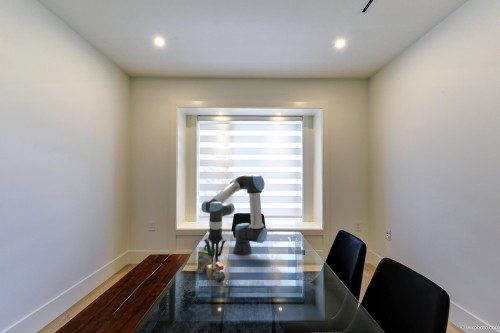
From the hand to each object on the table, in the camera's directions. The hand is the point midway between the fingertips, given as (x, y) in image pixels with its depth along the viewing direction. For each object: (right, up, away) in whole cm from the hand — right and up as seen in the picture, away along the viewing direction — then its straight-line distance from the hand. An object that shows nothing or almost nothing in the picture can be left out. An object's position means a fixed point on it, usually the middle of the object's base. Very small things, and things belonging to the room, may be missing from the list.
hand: (214, 267), depth 133 cm
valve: (-2, -10, +8) cm, 13 cm away
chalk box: (-9, -10, +23) cm, 26 cm away
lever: (+1, -1, +4) cm, 4 cm away
